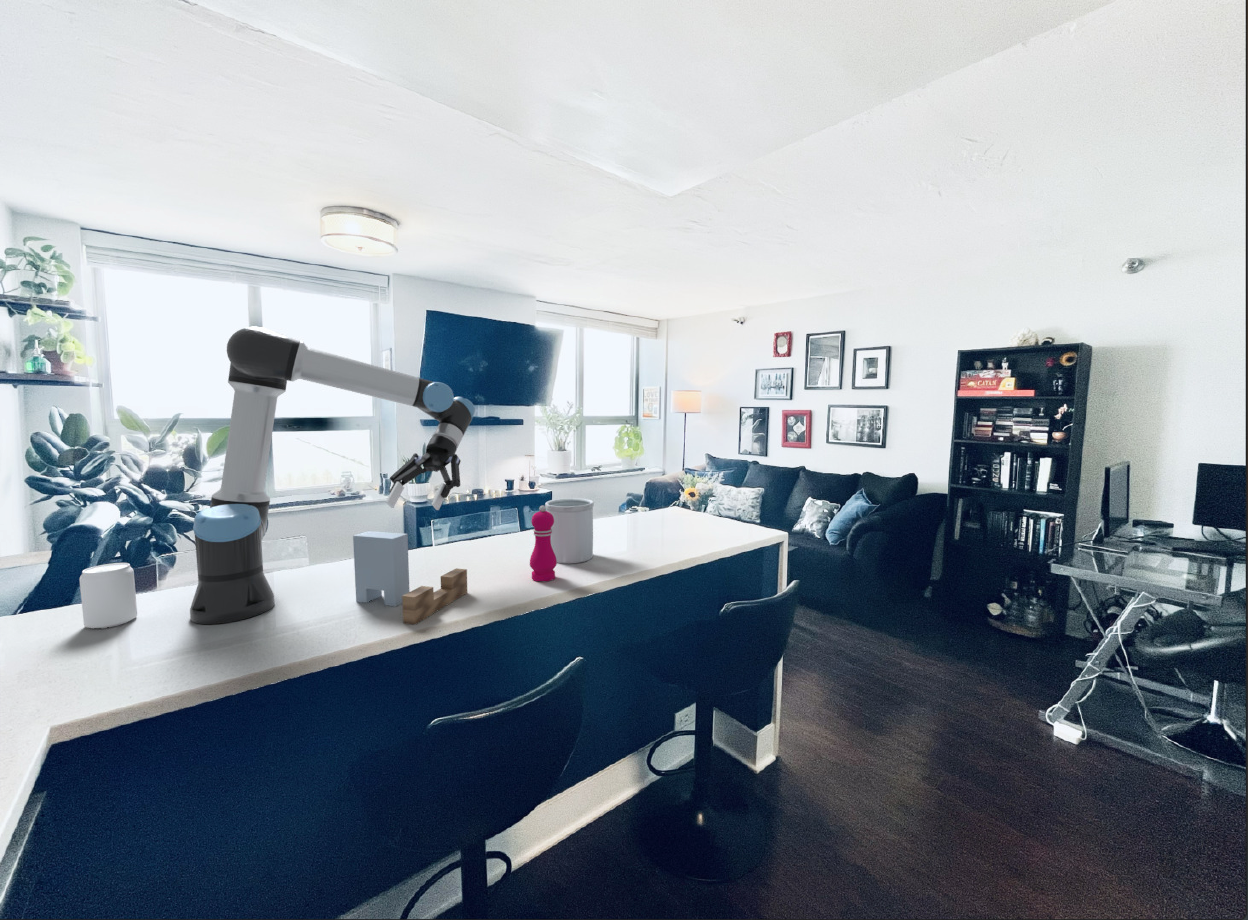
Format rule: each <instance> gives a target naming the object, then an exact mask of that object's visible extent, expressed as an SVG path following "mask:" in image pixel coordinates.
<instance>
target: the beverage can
mask: <svg viewBox="0 0 1248 920" xmlns="http://www.w3.org/2000/svg"><path fill="white" fill-rule="evenodd" d="M135 581H136V580H135V573H134V568H133V567H132V566H131V564H130V563H128V562H114V563H107V564H106V563H105V564H100V565H95V566H92V567H87V568H85V569H83V570H82V571H81V575H80V577H79V589H80V599H81V600H80V601H81V608H82V609H81V610H82V618H83V620H82V621H83V625H84V627H86V628H88V629H94V628H101V629H107V627H109V628H113V627H118V626H121V625H124V624H126V623H128V622H130V621H131V620H133V619H135V618H136V617H137V616H138V607H137V606H138V605H137V595H136V594H137V593H136V584H135Z"/></svg>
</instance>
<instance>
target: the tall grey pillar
mask: <svg viewBox="0 0 1248 920" xmlns="http://www.w3.org/2000/svg"><path fill="white" fill-rule="evenodd" d="M352 540H353V560H354V561H353V562H354V563H353V565H354V566H353V567H354V582H355V583H354V585H355V586H354V587H355V602H356V603H362V602H366V603H365V604H368V603H370V602H371V601H370V600H372V599H374V600H376V599H378V598H380V597H382V595H384V597H383V599H384V600H383V601H384V606H387V605H389V607H397V605H398V606H400V605H401V604H403V602H402V596H403V595H405V594H407V593H409V592H411V591H410V568H409V564H410V563H409V542H408V540H409V538H408V533H402V532H399V533H398V532H390V531H389V532H387V531H374V530H368V531H364V532H363V531H362V532H361V533H357V534H354V535H352ZM382 591H383V593H382ZM369 601H370V602H369ZM372 601H373V600H372ZM367 602H368V603H367Z"/></svg>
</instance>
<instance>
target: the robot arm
mask: <svg viewBox="0 0 1248 920" xmlns="http://www.w3.org/2000/svg"><path fill="white" fill-rule="evenodd" d="M227 341H228V342H227V344H226V354H227V355H226V356H227V357H228V360H229V362H230V365H229V371H228V378H227V379H228V380H227V383H228V384H229V386H230V387H232V389H233V391H234V394H233V400H232V401H233V402H232V409H231V414H230V421H229V429H228V437H227V442H226V443H227V444H226V451H225V456H224V457H225V458H224V464H223V471H222V478H221V484H220V489H219V490H217V491H216V492H214V493H213V494H211V500H210V506H209V508H204V509H202V510H200V511H199V512H197V513H196V515H195V516H194V519H193V527H192V531H193V533H194V541H195V542H194V543H195V555H196V556H195V557H196V567H197V568H196V569H197V581H198V582H197V587H196V589H195V593H194V596H193V599H192V602H191V605H190V608H189V615H190V621H191V622H192V623H195V624H200V625H215V624H226V623H232V622H237V621H242V620H246V619H250V618H252V617H256V616H259V615H261V614H263V613H266V612H267V611H269V610H271V609H272V608H273V607H274V606H275V595H274V594H275V593H274V592H273V590H272V587H271V586H270V584H269V582H268V580H267V578H266V575H265V573H264V562H263V546H262V545H263V544H262V542H263V538H264V537H265V535H266V533H267V532H268V529H269V519H268V518H269V510H270V502H271V497H270V496H268V495H267V493H265V487H266V486H265V485H266V481H267V479H266V478H267V471H268V466H269V457H270V452H271V446H272V445H271V443H272V437H273V430H274V422H275V417H276V409H277V403H278V398H279V396H281V395H282V394H284V393H286V390H287V384H288V382H295V381H297V380H303V381H307V382H312V383H316V384H319V385H320V384H321V385H324V386H329V387H332V388H336V389H340V390H345V391H348V392H352V393H353V392H354V393H355V394H360V395H365V396H368V397H369V396H370V397H373V398H376V399H377V398H378V399H382V400H386V401H390V402H395V403H398V404H402V405H406V406H410V407H414V408H417V409H419V410H420V411H422V412H423V413H425V414H426V415H428V416H430V417H431V418H433V419H434V420H436V421H437V422H439V423H438V425H437V426H436V428H435V430H434V432H433V434H432V436H431V437H430V440H429V441H428V443H427V444H426V448H425V453H424V454H423V455H418V453H413V454H412V456H411V457H410V458H409V460H407V461H406V463H404V464H403V465H402V466H401V467H400V468H398V470H397V471H395V472H394V473H393V474H392V475H391V476H389V480H390V481H391V482H392V483H393V484H392V486H391V488H390V489H389V494H388V496H387V498H386V500H385V503H386V504H387V506H388V507H390V508H391V509H394V507H395V505H397V502H398V501H399V498H400V496H401V494H402V492H403V491H404V489H405V485H406V484H407V483H409V482H410V481H412V480H414V479H415V478H417V477H418V476H419V475H421V474H425V473H427V472H436V473H438V472H440V474H441V476H442V479H443V482H444V483H443V482H442V483H440V485H439V487H438V490H437V492H436V494H435V496H434V498H433V499H432V501H431V503H430V504H431V505H432V507H433V508H434V510H436V511H440V508H441V506H442V504H443V502H444V501H445V500H444V499H447V498H448V497H449V494H450V492H451V490H453V489H454V488H455V487H456V488H459V487H461V477H460V475H461V474H460V464H461V461H462V460H461V459H460V457H459V455H458V454H456V452H457V449H458V447H459V446H460V443H461V442H462V440H463V437H464V435H465V433H466V431H467V430H468V427H470V424H471V422H472V421H473V417H474V415H475V412H476V411H475V410H476V407H475V405H474V403H473V402H472V401H471V400H469V399H468V398H464V397H463V396H455V397H454V393H453V392H454V391H453V389H452V388H451V387H450V386H449V385H447V384H446V383H444V382H440V381H432V380H428V379H425V378H421V377H419V376H414V375H410V374H407V373H403V372H400V371H395V370H392V369H389V368H384V367H381V366H378V365H374V364H371V363H366V362H363V361H359V360H355V359H351V358H348V357H345V356H341V355H337V354H334V353H330V352H327V351H323V350H319V349H315V348H312V347H308V346H307V345H306V344H305V342H304V341H302V340H299V339H296V338H292V337H289V336H287V335H284V334H280V333H278V332H275V331H273V330H270V329H268V328H265V327H261V326H260V327H259V326H248V327H247V326H246V327H243V328H241V329H239V330H236V331H235V332H234V333H233V334H232V335H231V336H230V338H229V339H228V340H227ZM449 464H450V469H451V473H450V474H451V477H450V475H449V473H448V470H447V467H446V466H448V465H449Z"/></svg>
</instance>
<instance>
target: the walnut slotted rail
mask: <svg viewBox="0 0 1248 920" xmlns="http://www.w3.org/2000/svg"><path fill="white" fill-rule="evenodd" d="M464 594H465V595H467V594H468V569H466V568H458V567H457V568H454V569H452V570H450V571H449V572H447V573H445V574H443V575H441V576H440V589H438V590H436V591H434V586H426V585H421V586H418V587H417V588H414V589H413V590H411V591H410V592H409V593H407V594H405V595H403V596H402V602H403V603H402V619H403V620H402V621H403V622H402V623H403V624H409V625H415V624H416V625H417V624H418V622H419V623H420V622H423V621H424V620H426V619H427V618H428V616H429V617H430V616H432V615H433V613H434V612H435V613H437V612H438V611H440V610H442V609H443V608H445V607H447V606H448V605H450V604H451V602H452V603H454V600H455V601H457V600H459V598H461V597H463V596H464ZM456 599H457V600H456ZM447 604H448V605H447ZM446 605H447V606H446ZM444 606H445V607H444ZM441 608H442V609H441ZM437 610H438V611H437ZM436 611H437V612H436ZM435 613H434V614H435ZM426 617H427V618H426ZM423 619H424V620H423Z"/></svg>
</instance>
